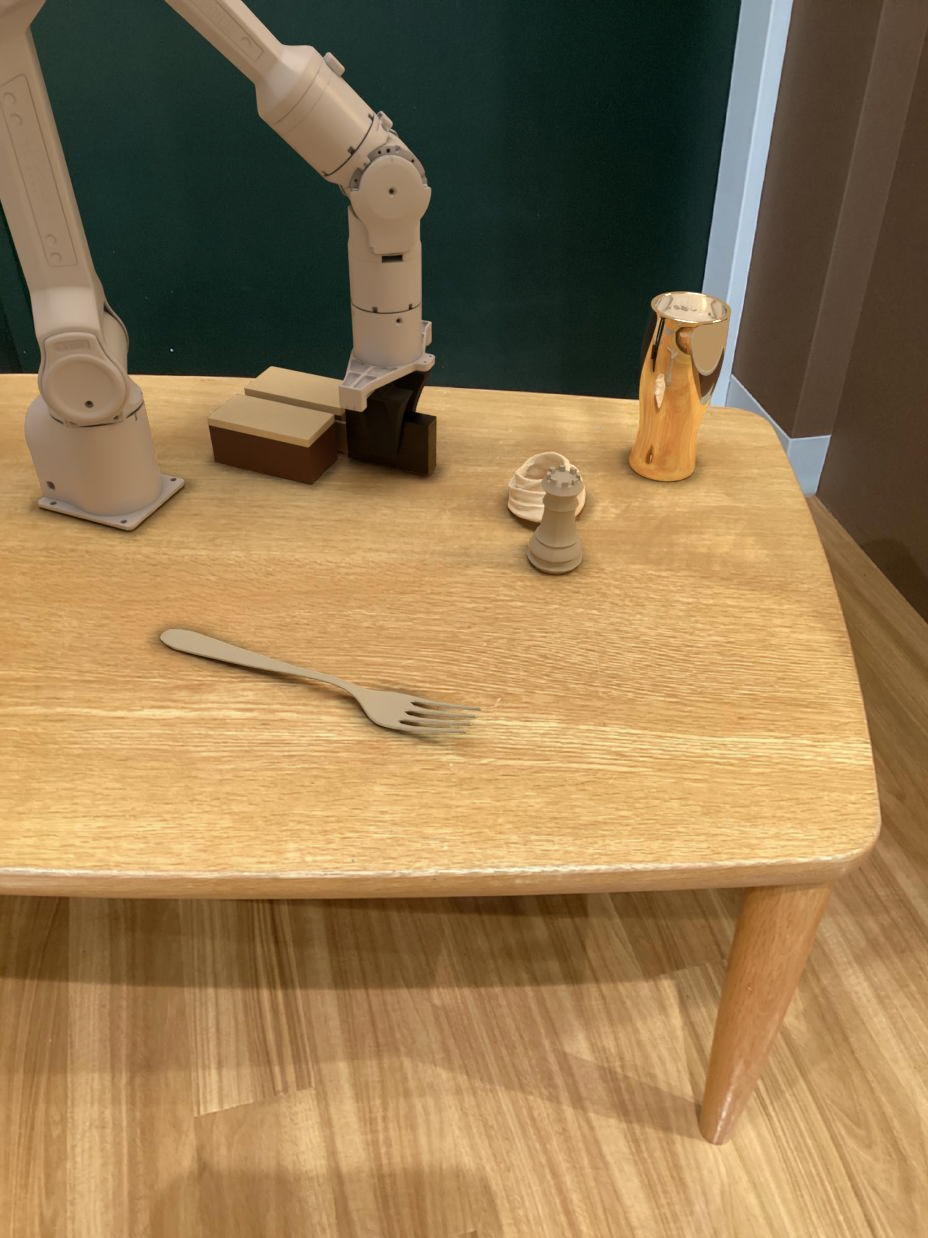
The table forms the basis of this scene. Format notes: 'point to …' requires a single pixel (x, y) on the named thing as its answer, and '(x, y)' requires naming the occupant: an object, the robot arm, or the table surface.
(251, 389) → the cake slice
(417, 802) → the table surface
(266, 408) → the cake
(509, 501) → the white ruffled curved piece
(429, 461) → the two-tone wooden slat
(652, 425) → the copper metal vase
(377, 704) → the fork
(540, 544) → the rook chess piece
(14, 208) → the robot arm
